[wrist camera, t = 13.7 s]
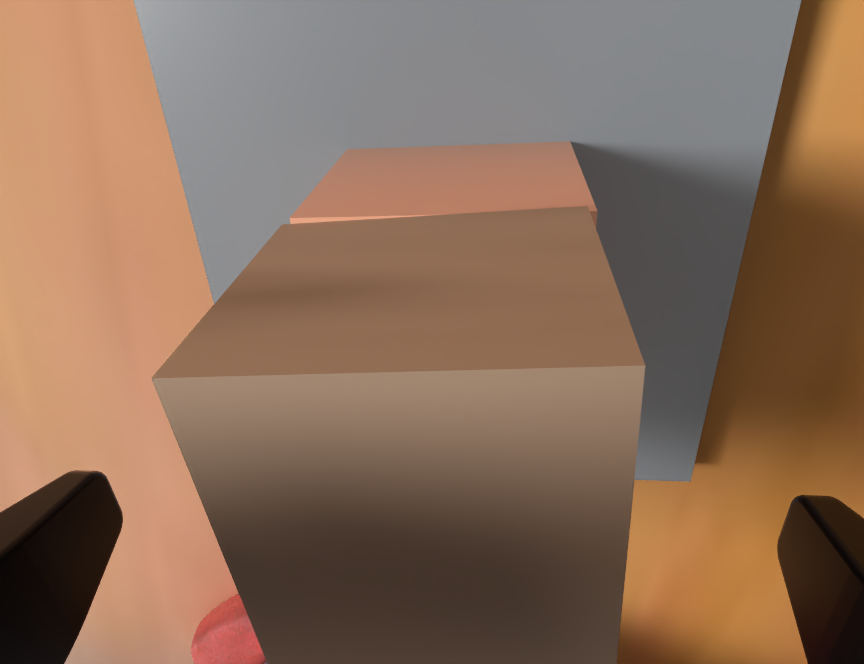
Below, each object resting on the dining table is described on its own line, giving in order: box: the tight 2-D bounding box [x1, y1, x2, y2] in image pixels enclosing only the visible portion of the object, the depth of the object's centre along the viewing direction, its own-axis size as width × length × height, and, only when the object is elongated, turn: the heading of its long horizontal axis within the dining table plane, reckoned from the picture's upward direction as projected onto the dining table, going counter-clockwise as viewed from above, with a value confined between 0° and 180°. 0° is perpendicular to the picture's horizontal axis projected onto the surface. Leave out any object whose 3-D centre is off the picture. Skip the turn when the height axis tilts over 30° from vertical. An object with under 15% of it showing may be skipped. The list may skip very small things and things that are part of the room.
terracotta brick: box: [290, 141, 598, 227], centre depth 12 cm, size 6×4×4 cm
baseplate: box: [134, 0, 801, 482], centre depth 14 cm, size 12×12×1 cm
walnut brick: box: [152, 206, 645, 664], centre depth 9 cm, size 6×4×4 cm
